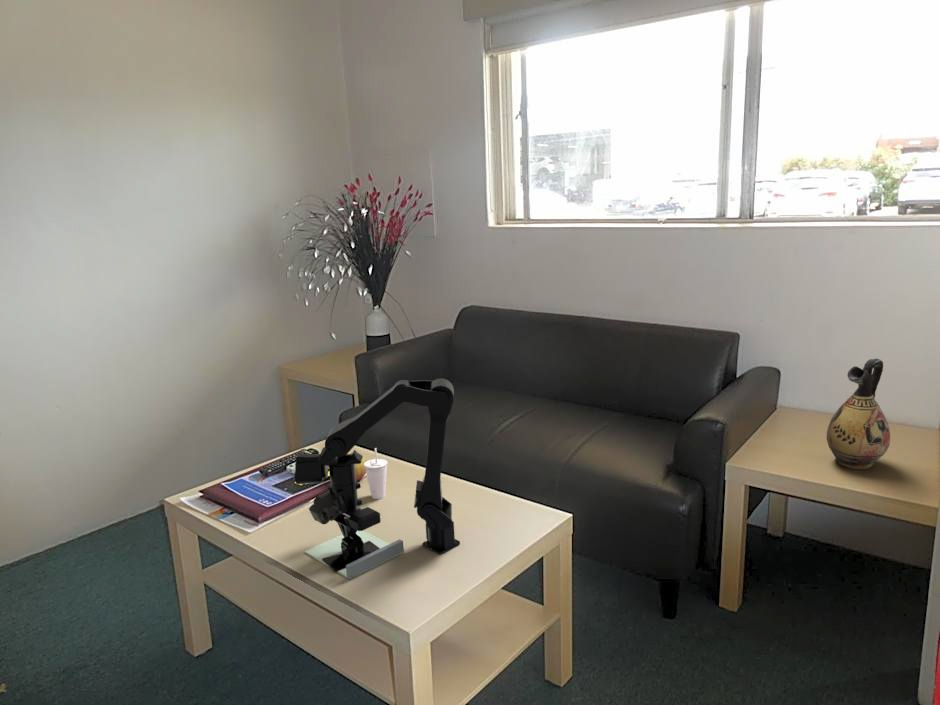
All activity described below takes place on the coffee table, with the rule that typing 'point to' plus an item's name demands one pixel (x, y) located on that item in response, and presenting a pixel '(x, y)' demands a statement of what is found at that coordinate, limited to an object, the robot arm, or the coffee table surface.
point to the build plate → (349, 552)
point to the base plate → (363, 563)
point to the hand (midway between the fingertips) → (349, 543)
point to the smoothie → (376, 476)
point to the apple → (359, 469)
